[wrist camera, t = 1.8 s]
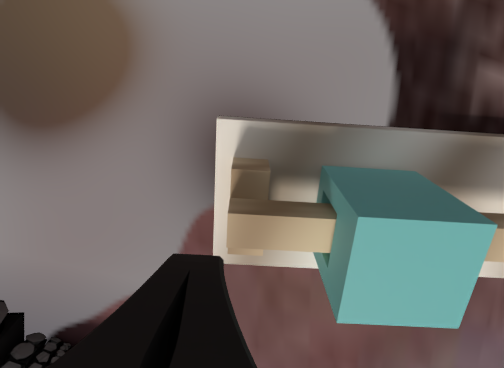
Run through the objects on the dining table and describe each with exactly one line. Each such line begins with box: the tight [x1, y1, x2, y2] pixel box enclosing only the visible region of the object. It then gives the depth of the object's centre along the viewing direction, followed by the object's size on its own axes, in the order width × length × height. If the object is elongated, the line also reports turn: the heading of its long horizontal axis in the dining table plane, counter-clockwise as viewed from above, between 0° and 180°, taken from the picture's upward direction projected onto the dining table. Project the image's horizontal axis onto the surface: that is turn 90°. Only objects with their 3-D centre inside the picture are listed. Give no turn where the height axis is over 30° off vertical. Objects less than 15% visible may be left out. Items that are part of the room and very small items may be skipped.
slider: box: [313, 166, 498, 328], centre depth 12 cm, size 4×4×5 cm
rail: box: [213, 116, 504, 278], centre depth 12 cm, size 21×7×6 cm, turn 86°
